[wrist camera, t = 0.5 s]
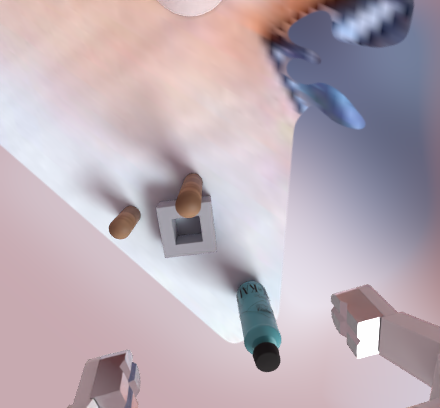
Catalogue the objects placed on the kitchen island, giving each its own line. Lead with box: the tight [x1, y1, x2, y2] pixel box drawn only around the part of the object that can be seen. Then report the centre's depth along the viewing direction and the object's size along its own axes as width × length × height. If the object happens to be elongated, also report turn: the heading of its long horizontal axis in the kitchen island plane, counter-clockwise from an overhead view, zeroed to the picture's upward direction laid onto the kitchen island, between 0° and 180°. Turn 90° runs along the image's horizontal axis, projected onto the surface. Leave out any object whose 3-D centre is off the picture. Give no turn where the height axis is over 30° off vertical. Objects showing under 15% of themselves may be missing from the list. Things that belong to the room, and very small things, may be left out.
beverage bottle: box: [236, 281, 281, 372], centre depth 52 cm, size 6×7×20 cm
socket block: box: [156, 196, 217, 258], centre depth 55 cm, size 10×10×4 cm
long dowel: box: [175, 173, 203, 218], centre depth 47 cm, size 4×4×16 cm
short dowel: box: [109, 206, 141, 239], centre depth 52 cm, size 4×4×8 cm
